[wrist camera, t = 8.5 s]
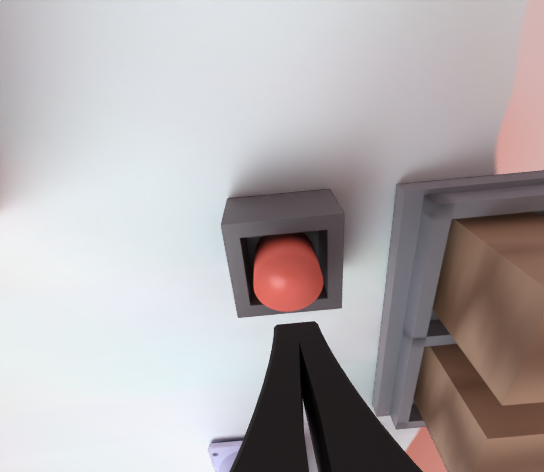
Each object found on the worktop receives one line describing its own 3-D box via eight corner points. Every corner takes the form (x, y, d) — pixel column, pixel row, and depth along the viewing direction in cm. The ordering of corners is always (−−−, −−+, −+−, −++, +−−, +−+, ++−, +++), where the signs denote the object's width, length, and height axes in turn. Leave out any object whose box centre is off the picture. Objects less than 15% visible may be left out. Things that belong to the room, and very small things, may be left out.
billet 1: (498, 303, 18) (596, 397, 13) (431, 308, 18) (502, 405, 13) (531, 210, 15) (674, 283, 10) (452, 217, 15) (553, 293, 10)
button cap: (315, 276, 16) (323, 308, 14) (257, 282, 16) (257, 314, 14) (313, 225, 15) (323, 251, 12) (250, 231, 15) (249, 258, 12)
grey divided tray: (487, 393, 24) (507, 421, 22) (372, 403, 24) (382, 433, 22) (575, 167, 15) (620, 181, 14) (396, 184, 16) (416, 200, 14)
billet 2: (467, 393, 22) (533, 493, 17) (412, 398, 22) (460, 499, 17) (488, 333, 19) (574, 431, 14) (425, 339, 19) (487, 438, 14)
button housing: (329, 273, 18) (341, 308, 15) (240, 281, 18) (237, 317, 15) (329, 189, 16) (344, 213, 13) (227, 198, 16) (221, 225, 13)
